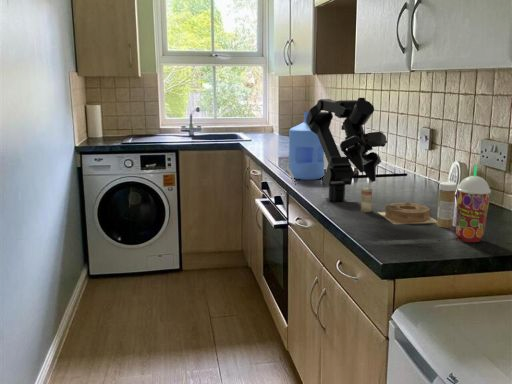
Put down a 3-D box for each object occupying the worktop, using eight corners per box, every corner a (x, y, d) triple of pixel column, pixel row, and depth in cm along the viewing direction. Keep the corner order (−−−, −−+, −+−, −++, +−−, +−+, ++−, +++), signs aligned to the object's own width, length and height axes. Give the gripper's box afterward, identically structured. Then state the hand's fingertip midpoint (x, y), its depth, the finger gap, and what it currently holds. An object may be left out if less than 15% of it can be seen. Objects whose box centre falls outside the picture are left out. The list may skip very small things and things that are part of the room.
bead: (381, 212, 161) (381, 203, 160) (418, 211, 162) (418, 202, 161) (395, 223, 149) (396, 213, 148) (435, 221, 150) (435, 212, 149)
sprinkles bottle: (440, 225, 150) (443, 180, 147) (455, 228, 147) (459, 182, 144) (433, 229, 146) (436, 183, 144) (448, 232, 143) (452, 185, 141)
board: (376, 214, 162) (377, 211, 161) (419, 213, 163) (419, 210, 163) (393, 227, 148) (393, 224, 148) (439, 226, 149) (439, 222, 149)
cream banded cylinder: (359, 212, 165) (360, 188, 163) (369, 212, 165) (370, 187, 163) (362, 215, 161) (363, 190, 160) (372, 214, 162) (373, 190, 160)
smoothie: (452, 242, 135) (458, 167, 130) (452, 233, 142) (458, 162, 138) (486, 245, 132) (494, 169, 128) (485, 236, 139) (492, 164, 135)
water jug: (281, 175, 228) (282, 112, 222) (311, 172, 235) (313, 111, 229) (300, 181, 214) (301, 114, 208) (331, 178, 221) (333, 113, 215)
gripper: (367, 110, 151) (381, 155, 145) (389, 134, 166) (403, 175, 159) (333, 126, 156) (346, 171, 150) (358, 148, 171) (370, 189, 164)
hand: (368, 176), depth 155 cm, fingers open, 9 cm apart
